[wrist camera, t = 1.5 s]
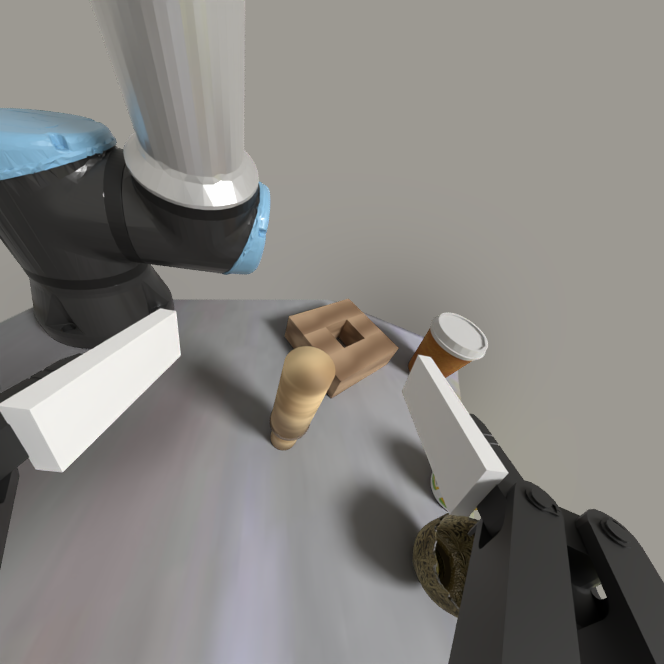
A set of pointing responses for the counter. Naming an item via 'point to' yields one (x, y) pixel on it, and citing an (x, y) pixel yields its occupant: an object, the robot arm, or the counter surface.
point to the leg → (299, 394)
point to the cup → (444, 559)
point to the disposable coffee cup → (451, 343)
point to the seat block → (353, 330)
